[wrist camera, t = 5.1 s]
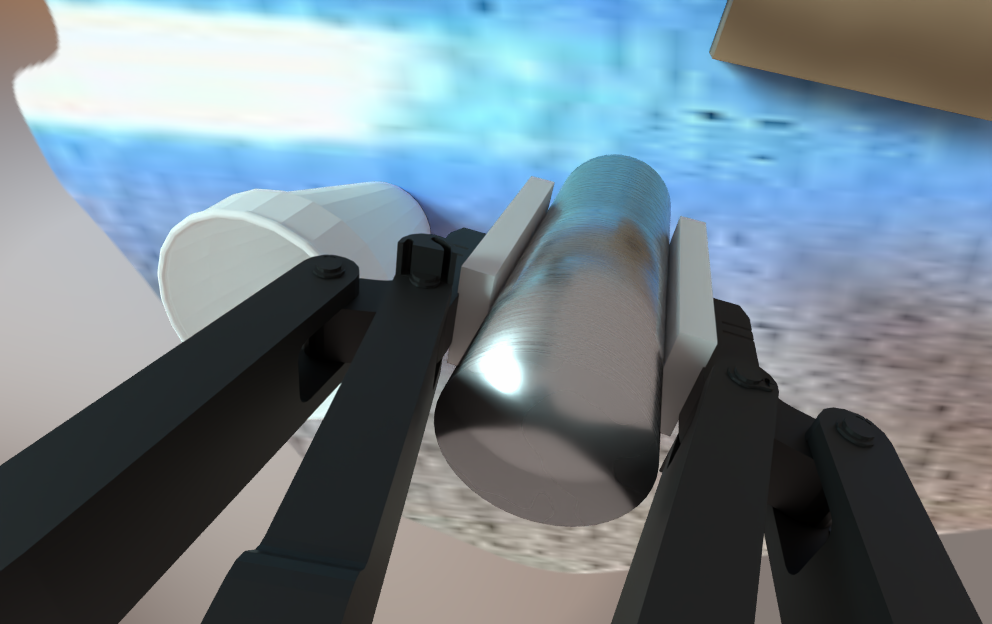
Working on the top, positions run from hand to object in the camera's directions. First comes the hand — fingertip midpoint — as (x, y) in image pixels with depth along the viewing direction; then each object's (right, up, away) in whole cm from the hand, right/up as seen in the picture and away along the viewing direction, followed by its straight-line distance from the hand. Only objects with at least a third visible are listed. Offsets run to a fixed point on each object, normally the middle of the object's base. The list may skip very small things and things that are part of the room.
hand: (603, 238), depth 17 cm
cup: (-11, +4, +21) cm, 24 cm away
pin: (+1, +1, +2) cm, 3 cm away
